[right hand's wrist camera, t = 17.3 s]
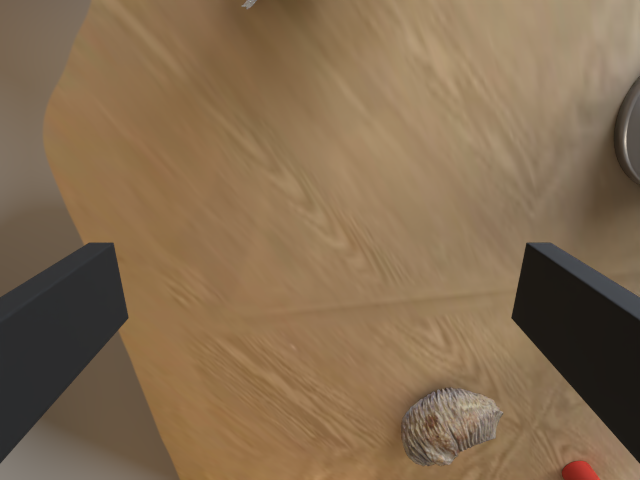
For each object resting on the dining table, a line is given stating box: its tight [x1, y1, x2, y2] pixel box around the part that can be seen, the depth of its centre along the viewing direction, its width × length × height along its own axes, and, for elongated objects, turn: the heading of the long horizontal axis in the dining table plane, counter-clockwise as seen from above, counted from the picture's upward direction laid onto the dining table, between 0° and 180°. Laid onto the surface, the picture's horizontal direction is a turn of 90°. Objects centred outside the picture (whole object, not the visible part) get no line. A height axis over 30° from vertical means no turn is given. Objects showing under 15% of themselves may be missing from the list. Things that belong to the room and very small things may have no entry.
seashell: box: [401, 388, 503, 466], centre depth 49 cm, size 14×10×10 cm
